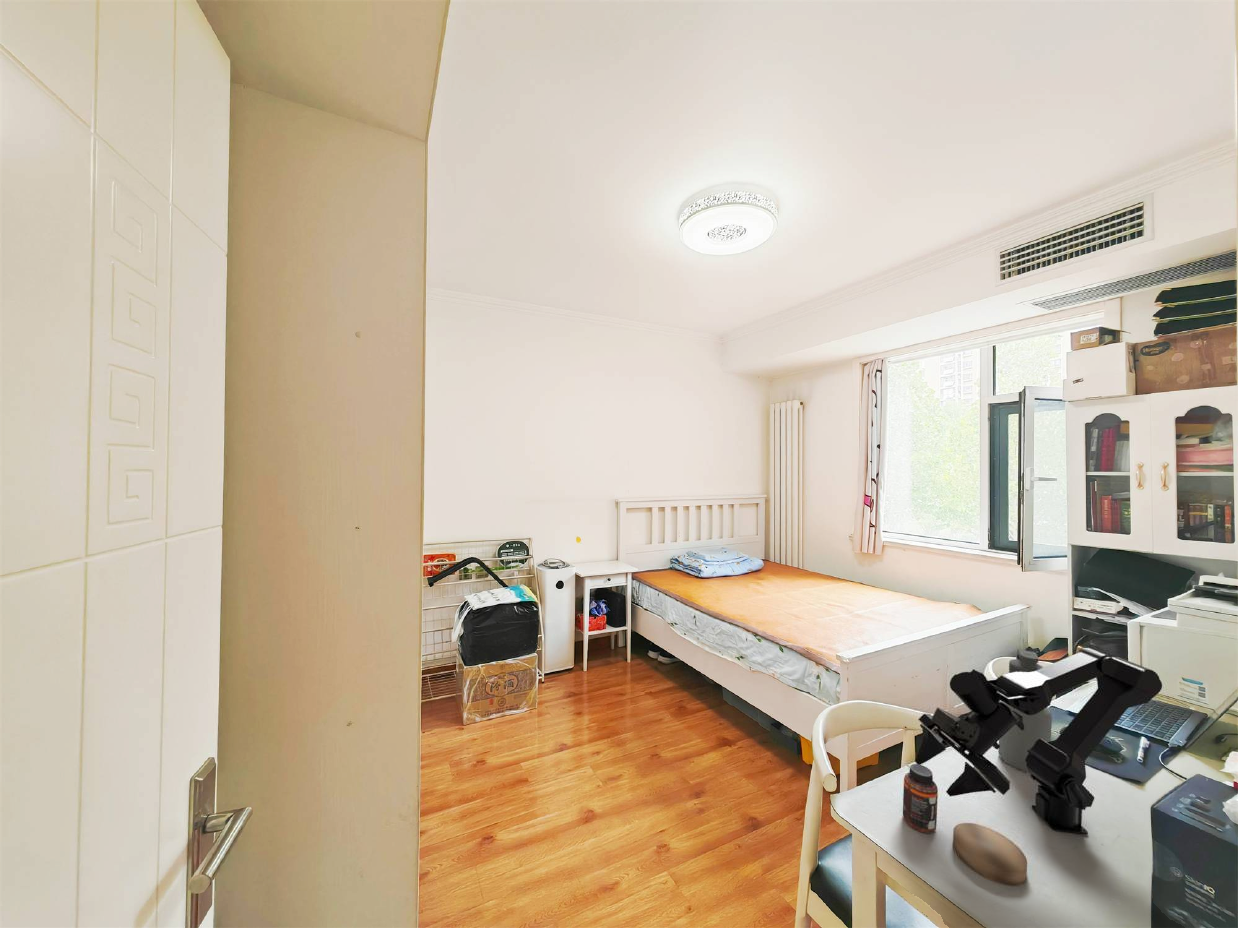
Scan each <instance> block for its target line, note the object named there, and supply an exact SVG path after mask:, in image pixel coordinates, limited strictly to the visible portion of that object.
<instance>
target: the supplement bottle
mask: <svg viewBox="0 0 1238 928" xmlns="http://www.w3.org/2000/svg"><path fill="white" fill-rule="evenodd" d="M908 771H909V772H907V773H905V775H904V777H903V793H902V794H903V795H902V797H903V798H902V801H903V802H902V817H903V820H904V821H905V823H906V824H907V825H908V826H910V827H911V828H913V829H914V830H916V831H919V832H921V833H926V834H928V833H929V834H931V833H934V832H935V831H936V829H937V818H938V796H939V793H938V792H939V789H938V785H937V784H936V782H935V781H934V777H933V772H932V770H931V769H930V768H928V767H927V766H925V765H923V764H921V765H919V764H917V763H912V764H910V766H909V770H908Z"/></svg>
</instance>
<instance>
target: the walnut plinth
mask: <svg viewBox="0 0 1238 928" xmlns="http://www.w3.org/2000/svg"><path fill="white" fill-rule="evenodd" d="M952 831H953V832H952V833H953V834H952V847H953V850H954V852H955V855H957V856H958V858H959V859H960V861H962V862H963V863H964V864H965V865H966V866H967V867H968V868H970V869H971V870H972V871H974V872H975V873H977V874H979V875H980V876H982V877H984V878H985V879H988V880H990V881H992V882H994V883H998V884H1001V885H1006V886H1019V885H1022V884H1024V883H1025V882H1026V880H1027V877H1028V876H1027V875H1028V860H1027V857H1026V855H1025V854H1024V852H1023V851H1022V850H1021V848H1020V847H1019V846H1018V845H1017V844H1016V843H1014V842H1013V841H1012V840H1010V839H1009V838H1008V837H1007V836H1005V835H1004V834H1002V833H1000V832H999V831H996V830H994V829H992V828H990V827H987V826H985V825H981V824H978V823H973V822H961V823H958V824H956V825H955V826H954V827H953V829H952Z"/></svg>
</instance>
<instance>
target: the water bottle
mask: <svg viewBox="0 0 1238 928" xmlns="http://www.w3.org/2000/svg"><path fill="white" fill-rule="evenodd" d="M1008 664H1009V665H1008V674H1009V673H1013V672H1033V671H1037V670H1039V669H1041V668H1044V667H1045V666H1042V665H1041V664H1039V656H1038V654H1037V652H1035V651H1030V650H1024V649H1020V648H1017V650H1016V657H1015V658H1014V659H1010V660H1009V663H1008ZM1000 702H1002V703H1004V704H1005V705H1007V706H1008V707H1009V708H1010V709H1011V710H1012V711H1015V712H1016V713H1018V714H1020V715H1021V716H1023V724H1024V730H1023V731H1022V730H1020V729H1019V728H1017V727H1016V726H1013V727H1012V728H1011V729H1010V730H1009V731H1008V732H1007V733H1006V734H1004V735H1003V736H1002V737H1001V738H1000V739H999V740H998V744H999V745H1000V746H1001V747H999V748H998V749H997V752H998V755H999V757H1000V758H1001V759H1002V760H1003V761H1004V763H1006V764H1007V765H1009V766H1010V767H1012V768H1015V770H1018V771H1021V772H1024V773H1026V774H1030V772H1029V771H1028V769H1027V766H1026V761H1025V759H1026V756H1027V755H1028V752H1027V751H1028V750H1029V749H1031V748H1032V747H1033V746H1034V744H1035V742H1036V741H1037V740H1038V739H1042V740H1044V741H1046V742H1049V741H1052V724H1053V723H1052V722H1053V715H1052V712H1051V710H1050V709H1049V708H1048V707H1047V708H1045V709H1043V710H1042V711H1040V712H1039V713H1037V714H1035V715H1027V714H1024V713H1022V712H1020V711H1019V710H1017V709H1015V708H1013V707H1011V706H1010V705H1008V704H1006V703H1005V702H1003V701H1001V700H1000Z"/></svg>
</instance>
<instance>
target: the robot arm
mask: <svg viewBox="0 0 1238 928" xmlns="http://www.w3.org/2000/svg"><path fill="white" fill-rule="evenodd" d="M1043 667H1044V668H1041V669H1039V670H1037V671H1033V672H1013V673H1009V672H1008V673H1005V674H1001V675H1000V676H998V677H996V678H995V677H994V678H989V679H987V677H986V676H985V675H984V673H983V672H980V670H977V669H975V668H973V669H972V670H971V671H962V672H960V673H959V672H958V673H957V674H954V675H953V676H952V677H951V678H950V681H949V688H950V690H951V691H952V692H953V693H954V694H955V695H956V696H957V697H958V698H959V699H960V700H961V701H962V703H963V704H964V705H965V706H966V708H968V710H970V711H971V712H972V713H971V714H970V715H969V716H968V715H967V714H965V713H963V714H960V715H959V716H956V715H953V714H952V713H950V712H948V711H946V710H944V709H942V708H940V707H936V709H935V711H934V713H933V714H931V713H923V714H922V715H921V716H919V718H918V721H919V722H920V725H919V727H920V728H921V729H922V739H921V743H920V746H919V749H918V751H917V753H916V756H915V759H914V762H915V764H919V765H923V764H925V763H927V762H928V761H930V760H931V759H933V758H935V757H936V756H938V755H940V754H941V753H943V752H945V751H946V750H947V748H946V747H945V746H950V747H951V748H953V749H954V750H955V751H956V752H957V753H958V754H960V756H962V757H963V758H964V759H965V760H967V761H968V762H969V763H968V762H967V761H964V768H963V772H962V773H961V774H960V775H959V776H958V777H957V778H956V779H955V780H954V781H953V783H950V785H949V787H948V788H947V789H946V791H945V792H946V794H947V795H948V796H949V797H956V796H961V795H966V794H972V793H981V792H992V793H993V794H995V793H997V791H998V792H999V793H1000V794H1001V795H1003V796H1004V795H1005V794H1007V793H1008V791H1010V789H1011V781H1010V780H1009V779H1008V777H1007V776H1006V775H1005V774H1004V773H1003V772H1002V771H1001V770H1000V769H999V768H998V767H997V766H996V765H995V764H994V763H993V762H992V761H991V760H989V759H987V758H986V757H985V756H984V755H985V754H986V753H987V752H988V751H989V750H990V749H991V748H992V747H993V748H994V749H995V750H998V748H999V747H1001V746H1000V745H999V739H1000V738H1001V737H1002V736H1003V735H1004V734H1006V733H1007V732H1008V731H1009V730H1010V729H1011V728H1012V727H1013V726H1016V727H1017V728H1019V729H1020V730H1022V731H1023V730H1024V724H1023V716H1021V715H1020V714H1018V713H1016V712H1015V711H1012V710H1011V709H1010V708H1009V707H1008V706H1007V705H1005V704H1004V703H1002V702H1001V701H1003V702H1005V703H1006V704H1008V705H1010V706H1011V707H1013V708H1015V709H1017V710H1019V711H1020V712H1022V713H1024V714H1027V715H1035V714H1037V713H1039V712H1040V711H1042V710H1043V709H1045V708H1048V707H1050V706H1051V703H1052V701H1053V698H1054V697H1055V696H1057V695H1059V694H1062V693H1064V692H1066V691H1069V690H1070V689H1073V688H1076V687H1078V686H1080V685H1083V684H1085V683H1087V682H1089V681H1091V680H1094V679H1096V683H1097V684H1096V687H1097V689H1096V690H1095V691H1094V693H1093V694H1092V695H1091V696H1090V697H1089V699H1088V701H1086V703H1085V704H1084V705H1083V706H1082V707H1081V709H1080V710H1079V711H1078V712H1077V714H1076V715H1075V716H1074V717H1073V718H1072V720H1071V721H1070V722H1069V723H1068V725H1067V726H1066V727H1065V728H1064V730H1063V731H1061V733H1060V734H1059V736H1058V737H1056V739H1054V740H1051V741H1049V742H1046V741H1044V740H1042V739H1038V740H1037V741H1036V742H1035V744H1034V746H1033V747H1032V748H1031V749H1029V750H1028V751H1027V752H1028V755H1027V756H1026V759H1025V761H1026V766H1027V769H1028V771H1029V772H1030V773H1029V776H1030V779H1032V781H1035V782H1037V783H1038V785H1037V786H1038V787H1037V792H1036V793H1035V801H1034V802H1035V803H1034V804H1031V809H1032V810H1033V811H1034V812H1035V813H1036V814H1037V815H1038V816H1039V817H1040V819H1042V820H1043V821H1044V822H1045V823H1046V824H1047V826H1049V827H1050V829H1052V830H1053V831H1056V832H1057V831H1058V832H1064V833H1072V834H1073V833H1074V834H1080V835H1088V834H1089V831H1088V830H1087V829H1086V828H1085V827H1084V826H1083V825H1082V824H1083V823H1082V822H1083V811H1085V810H1086V808H1091V807H1092V806H1093V803H1094V800H1095V797H1094V795H1093V794H1092V793H1091V792H1090V791H1089V789H1087V788H1086V787H1085V786H1084V782H1085V781H1086V778H1087V771H1086V770H1087V769H1086V760H1087V759H1088V758H1089V756H1090V755H1091V754H1092V753H1093V751H1094V750H1096V748H1097V746H1098V745H1100V743H1101V742H1102V740H1103V739H1104V738H1105V737H1106V736H1107V734H1108V733H1109V732H1110V731H1111V730H1112V728H1113V727H1114V726H1115V725H1116V723H1118V721H1119V720H1120V719H1121V717H1122V716H1123V715H1124V714H1125V713H1126V711H1127V710H1128V709H1129V708H1134V707H1137V706H1141V705H1144V704H1145V705H1146V704H1148V703H1149V702H1150V701H1151V700H1152V699H1154V697H1156V696H1157V695H1158V694H1159V693H1160V692H1161V691H1162V689H1163V683H1162V681H1161V679H1160V676H1159V674H1158V673H1157V672H1156V671H1154V670H1153V669H1150V668H1147V667H1146V666H1145V667H1144V665H1143V666H1142V665H1140V664H1137V663H1134V662H1133V661H1129V660H1127V659H1125V658H1122V657H1118V656H1110V655H1108V654H1105V653H1103V652H1100V651H1098V650H1096V649H1093V648H1089V647H1087V648H1086V647H1082V648H1081V649H1079V651H1077V653H1075V654H1073V655H1070V656H1068V657H1064V658H1063V659H1061V660H1058V661H1056V662H1052V663H1051V664H1049V665H1047V666H1043ZM967 752H968V753H967Z"/></svg>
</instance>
